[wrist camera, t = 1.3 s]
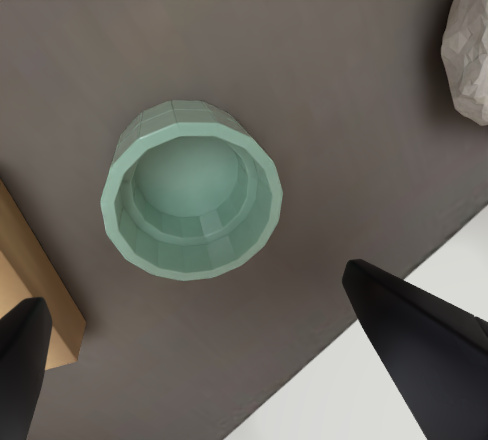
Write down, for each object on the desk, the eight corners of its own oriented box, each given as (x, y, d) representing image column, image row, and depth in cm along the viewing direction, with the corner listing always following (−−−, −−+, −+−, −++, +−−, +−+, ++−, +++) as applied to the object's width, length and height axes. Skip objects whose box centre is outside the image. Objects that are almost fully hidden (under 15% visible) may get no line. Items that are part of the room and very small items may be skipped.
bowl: (125, 229, 18) (116, 289, 14) (104, 95, 14) (83, 121, 10) (246, 221, 20) (271, 271, 15) (256, 99, 16) (293, 123, 12)
